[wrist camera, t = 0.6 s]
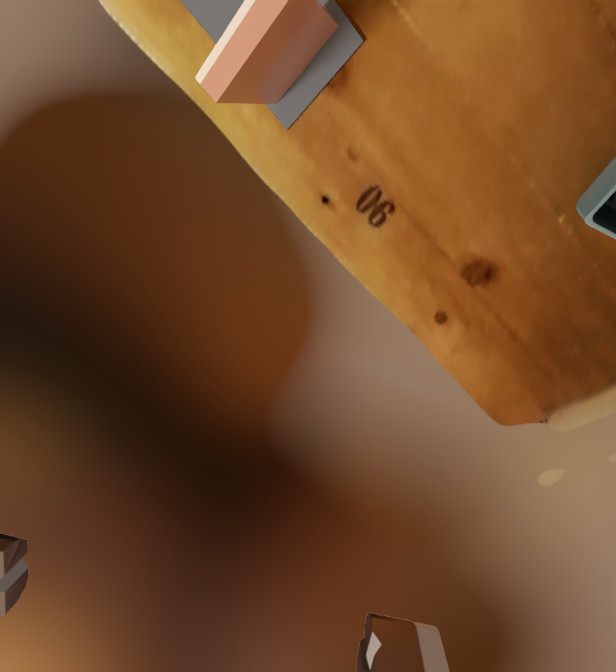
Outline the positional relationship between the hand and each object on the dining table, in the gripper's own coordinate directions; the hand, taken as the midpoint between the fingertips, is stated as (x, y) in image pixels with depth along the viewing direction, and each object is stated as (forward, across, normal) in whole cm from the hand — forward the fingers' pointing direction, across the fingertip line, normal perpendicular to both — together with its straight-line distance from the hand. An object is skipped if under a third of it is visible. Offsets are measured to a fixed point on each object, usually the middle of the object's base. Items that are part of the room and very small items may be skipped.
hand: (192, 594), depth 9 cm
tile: (+40, +6, -28) cm, 49 cm away
